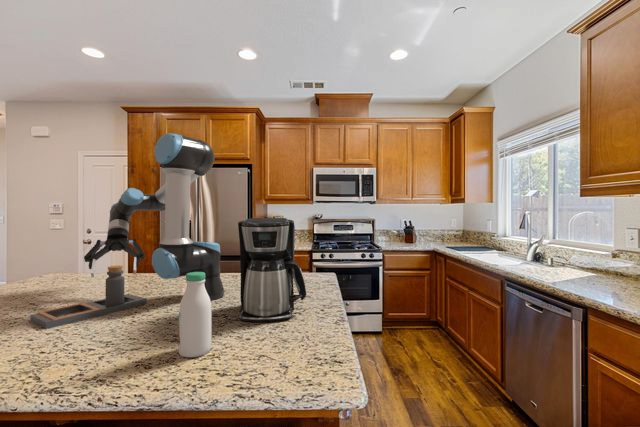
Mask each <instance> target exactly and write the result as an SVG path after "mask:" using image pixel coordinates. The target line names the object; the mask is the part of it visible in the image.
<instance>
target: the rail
mask: <svg viewBox="0 0 640 427" xmlns="http://www.w3.org/2000/svg"><path fill="white" fill-rule="evenodd" d="M146 304H147V298H145V297H141V296H137V295H135V294H130V293H126V294H125V293H124V303H121V304H117V305H113V306H108V307H106V306H105V298H103V299H97V300H94V301H88V302H80V303H77V304H76V303H75V304H71V305H66V306H61V307H55V308H51V309H47V310H43V311H37V313H32V314H30V316H29V317H30V318H29V321H30V322H32V323H33V324H35V325H37V326H39V327H41V328H43V329H45V330H48V329H51V328H56V327H59V326H64V325H67V324H71V323H76V322H80V321H83V320H88V319H90V318H95V317H100V316H104V315H107V314H111V313H115V312H119V311H123V310H127V309H130V308H131V309H132V308H135V307H139V306H143V305H146ZM63 315H64V316H63Z"/></svg>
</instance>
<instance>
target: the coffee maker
mask: <svg viewBox="0 0 640 427" xmlns="http://www.w3.org/2000/svg"><path fill="white" fill-rule="evenodd" d="M237 227H238V228H237V229H238V238H239V259H240V260H239V261H240V262H239V263H240V295H239V296H240V311H239V312H240V314H239V315H238V318H239V319H240V320H241V321H243V322H252V323H253V322H256V323H257V322H259V323H261V322H263V323H264V322H276V321H283V320H288V319H290V318H291V317H292V316H293V311H295V302H296V301H297V300H299V299H300V300H301V301H303V300H304V299H305V298H306V297H307V287H306V282H305V278H304V274H303V271H302V268H301V267H300V264H299V263H297V262H295V254H296V253H295V242H296V241H295V240H296V239H295V236H296V226H295V221H294V220H292V219H288V218H286V217H254V218H253V217H252V218H247V219H245V220H239V221H238V223H237ZM294 284H295V286H296V289H297V291H298V294H294Z"/></svg>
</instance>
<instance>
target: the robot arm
mask: <svg viewBox="0 0 640 427" xmlns="http://www.w3.org/2000/svg"><path fill="white" fill-rule="evenodd" d="M154 158H155V161H156V162H157V163H159V164H160V165H161V171H162V172H163V173H164V174H165V183H164V184H163V185H161V187H160V188H159V189H158V190H156V192H154V193H153V194H152V193H151V194H149V193H143V191H141V189H137V188H134V187H129V188H126V189H125V191H123V193H122V194H121V195H120V198H119V199H118V201H117V202H116V203H113V204H112V205H111V208H110V211H109V218H108V219H109V221H108V228H107V236H106V239H105V241H103V240H101V239H97V241H96V242H95V244H94V246H93V247H92V248H91V249H90V250H89V251H88V252H87V253H86V254H85V255H84V256H83V260H84V262H85V263H88V269H89V270H90V276H91V277H90V278H95V274H96V273H95V272H96V266H97V261H98V260H99V259H100V258H102V257H104V255H106V254H107V253H110V252H111V251H112V252H116V251H118V252H121V251H124V252H125V253H127V254H129V255H130V256H131V257H132V258H133V275H136V274H137V267H140V263H141V261H140V260H142V259H143V260H144V259H145V258H146V256H145V254H146V253H145V252H144V251H143V249H142V248H141V247H140V246H139V244H138V242H137V239H136V238H133V239H131V240H129V232H130V219H131V217H132V216H133V214H135V212H136V211H157V212H158V211H159V212H164V233H163V234H164V236H163V237H164V238H163V239H162V240H160V241H159V248H156V249H155V250H154V251H153V253H152V255H151V263H152V268H153V270H154V272H155V273H156V275H158V277H159V278H161V279H164V280H168V279H178V278H181V277H186V274H187V273H191V272H204V273H205V282H204V285H205V289H206V291H207V293H208V295H209V298H210V301H214V300H218V299H220V298H223V297H224V296H225V288H224V286H223V282H222V279H221V254H222V252H221V245H220V244H219V243H218V242H212V241H211V242H208V241H207V242H206V241H195V240H194V241H193V240H192V239H191V238H190V220H191V218H190V215H191V214H190V210H191V184H193V183H194V182H195V181H196V180H197V179H198V178H199V177H203V176H205V175H207V174H208V173H209V171H210V170H211V169H213V165H214V163H215V152H214V150H213V147H211V145H209V143H207V142H206V141H204V140H202V139H197V138H194V137H193V138H192V137H190V136H186V135H183V134H180V133H172V132H171V133H170V132H168V133H164V134H163V135H161V137H159V139H158V140H157V142H156V144H155V147H154ZM129 245H131V246H132V247H133V248H134V249H133V248H131V247H130V246H129ZM103 246H104V247H103Z"/></svg>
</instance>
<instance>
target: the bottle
mask: <svg viewBox="0 0 640 427" xmlns="http://www.w3.org/2000/svg"><path fill="white" fill-rule="evenodd" d="M123 267H124V266H123V265H109V266H108V267H107V272H106V275H107V276H108V277H106V279H105V292H104V293H105V297H104V299H105V305H104V306H106V307H108V306H113V305H117V304H121V303H125V302H124V295H125V277H124V276H122V274H124V270H123Z"/></svg>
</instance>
